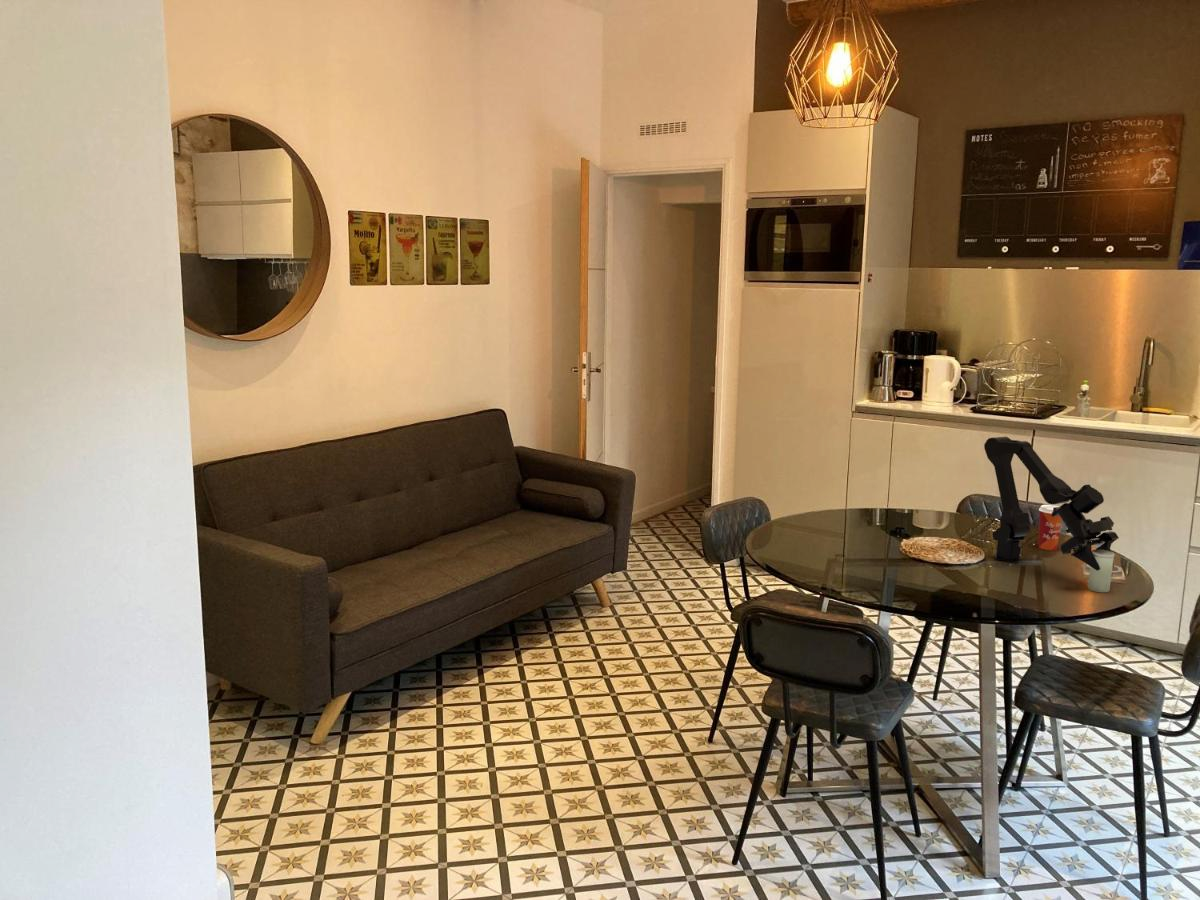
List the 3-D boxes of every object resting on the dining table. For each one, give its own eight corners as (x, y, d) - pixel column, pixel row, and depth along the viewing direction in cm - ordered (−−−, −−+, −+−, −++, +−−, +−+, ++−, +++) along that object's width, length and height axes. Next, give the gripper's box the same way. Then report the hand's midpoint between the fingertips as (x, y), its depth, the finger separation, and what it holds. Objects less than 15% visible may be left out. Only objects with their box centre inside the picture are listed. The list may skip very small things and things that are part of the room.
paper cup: (1045, 552, 308) (1050, 510, 305) (1029, 545, 315) (1033, 504, 313) (1065, 550, 310) (1070, 509, 307) (1049, 544, 317) (1053, 503, 315)
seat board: (1083, 578, 281) (1084, 569, 281) (1081, 568, 291) (1082, 559, 291) (1125, 583, 277) (1126, 574, 276) (1122, 573, 287) (1123, 564, 286)
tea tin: (1087, 590, 270) (1092, 553, 268) (1086, 584, 275) (1091, 548, 273) (1110, 593, 268) (1115, 556, 266) (1109, 587, 273) (1113, 551, 271)
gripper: (1073, 510, 266) (1104, 558, 259) (1116, 504, 275) (1147, 551, 267) (1046, 530, 275) (1076, 577, 267) (1089, 524, 283) (1118, 569, 276)
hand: (1105, 568), depth 269 cm, fingers closed on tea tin, 6 cm apart
